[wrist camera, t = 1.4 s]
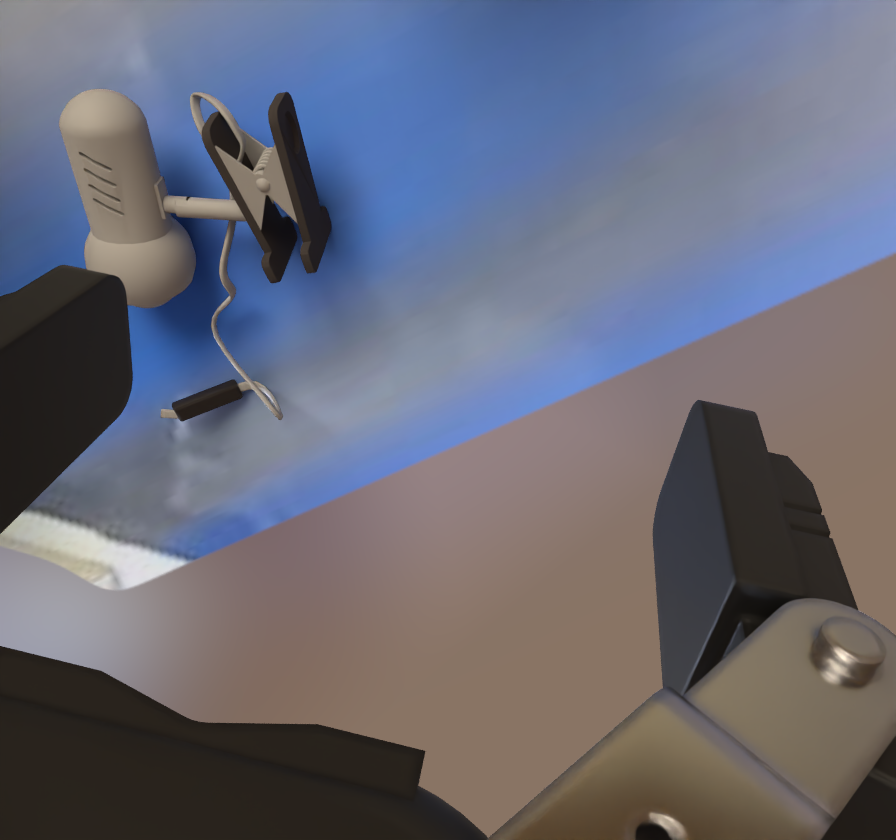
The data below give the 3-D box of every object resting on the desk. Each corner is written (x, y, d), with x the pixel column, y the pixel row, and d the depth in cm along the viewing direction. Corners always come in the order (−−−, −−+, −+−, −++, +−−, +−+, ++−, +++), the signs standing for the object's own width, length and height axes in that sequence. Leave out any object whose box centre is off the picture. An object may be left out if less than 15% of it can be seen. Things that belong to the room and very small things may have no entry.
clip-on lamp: (347, 382, 48) (322, 76, 35) (327, 461, 43) (290, 142, 31) (152, 367, 48) (59, 60, 36) (112, 444, 44) (-11, 123, 31)
